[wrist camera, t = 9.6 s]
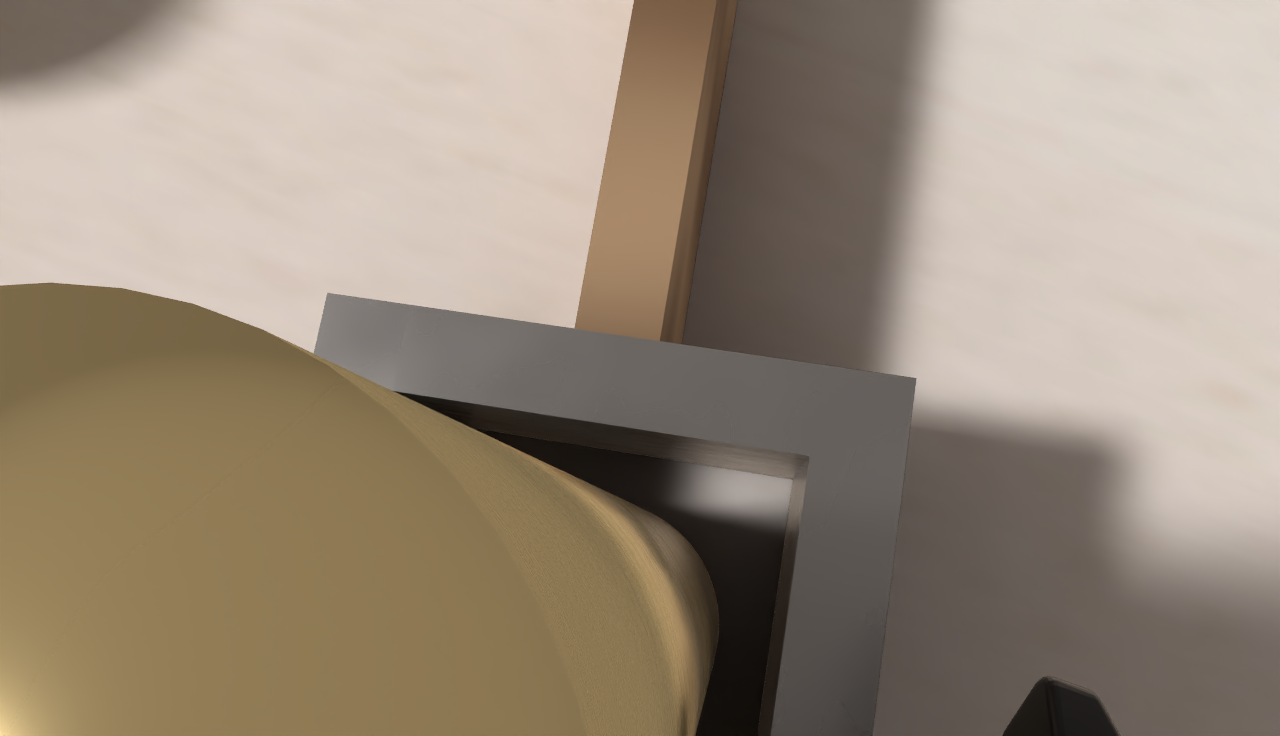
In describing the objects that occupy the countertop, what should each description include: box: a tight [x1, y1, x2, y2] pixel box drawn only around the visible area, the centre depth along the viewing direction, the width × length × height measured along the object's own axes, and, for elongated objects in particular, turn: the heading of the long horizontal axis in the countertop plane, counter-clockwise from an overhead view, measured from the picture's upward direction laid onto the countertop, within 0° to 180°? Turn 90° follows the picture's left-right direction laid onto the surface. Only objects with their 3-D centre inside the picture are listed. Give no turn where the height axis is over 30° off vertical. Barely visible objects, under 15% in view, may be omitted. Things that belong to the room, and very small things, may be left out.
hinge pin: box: [0, 283, 719, 736], centre depth 10 cm, size 4×4×14 cm
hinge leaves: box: [575, 0, 738, 344], centre depth 15 cm, size 30×1×4 cm, turn 170°
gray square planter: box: [314, 293, 916, 736], centre depth 15 cm, size 8×8×4 cm
